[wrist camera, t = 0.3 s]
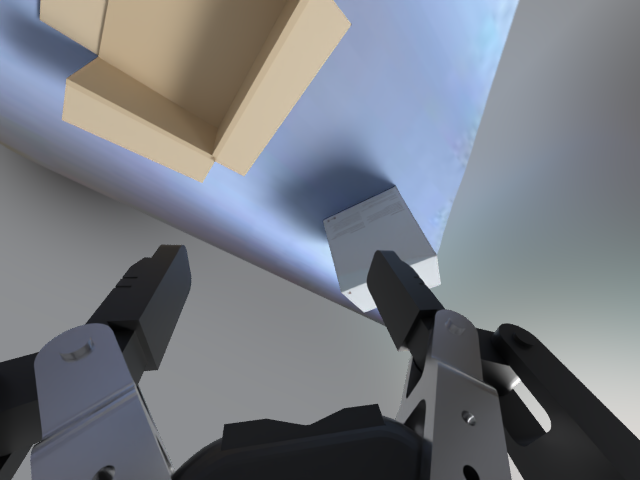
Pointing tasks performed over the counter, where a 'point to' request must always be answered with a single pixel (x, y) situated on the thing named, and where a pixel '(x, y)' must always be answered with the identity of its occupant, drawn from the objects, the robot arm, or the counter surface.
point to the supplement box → (377, 244)
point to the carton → (193, 73)
